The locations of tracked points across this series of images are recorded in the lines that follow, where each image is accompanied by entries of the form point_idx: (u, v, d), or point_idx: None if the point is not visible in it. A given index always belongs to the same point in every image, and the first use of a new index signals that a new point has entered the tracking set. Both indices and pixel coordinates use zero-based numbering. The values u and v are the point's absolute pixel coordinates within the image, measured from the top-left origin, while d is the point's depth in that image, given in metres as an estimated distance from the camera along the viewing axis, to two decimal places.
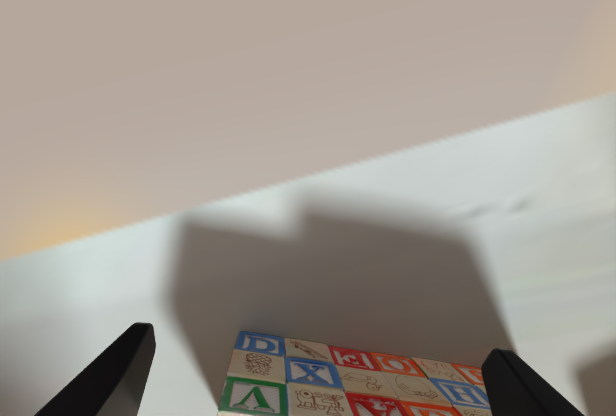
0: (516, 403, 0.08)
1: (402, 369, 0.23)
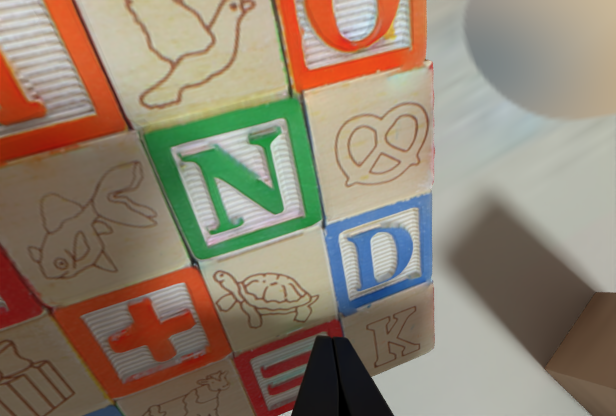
0: None
1: None
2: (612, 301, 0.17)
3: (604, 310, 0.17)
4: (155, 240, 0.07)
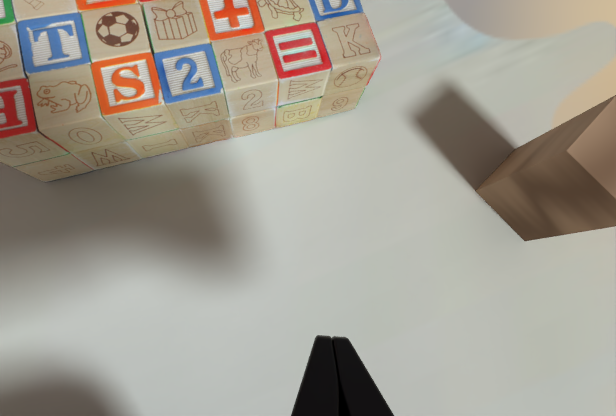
0: None
1: None
2: (521, 147, 0.26)
3: (516, 153, 0.26)
4: None
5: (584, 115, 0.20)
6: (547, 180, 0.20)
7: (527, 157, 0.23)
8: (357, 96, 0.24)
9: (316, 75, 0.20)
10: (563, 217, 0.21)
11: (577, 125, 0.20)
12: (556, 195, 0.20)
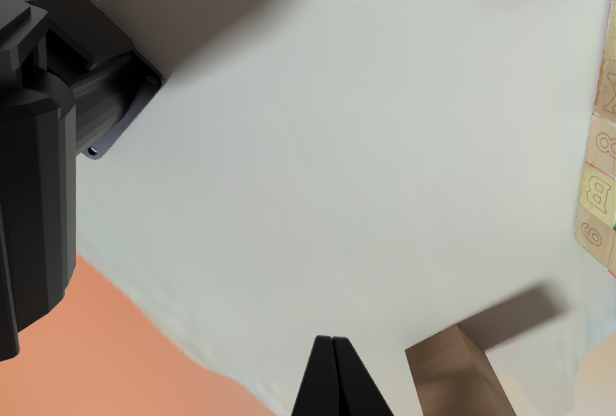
0: None
1: None
2: (487, 360, 0.30)
3: (483, 356, 0.29)
4: None
5: None
6: (471, 397, 0.24)
7: (486, 376, 0.26)
8: (594, 253, 0.22)
9: None
10: (433, 395, 0.26)
11: None
12: (456, 399, 0.25)
